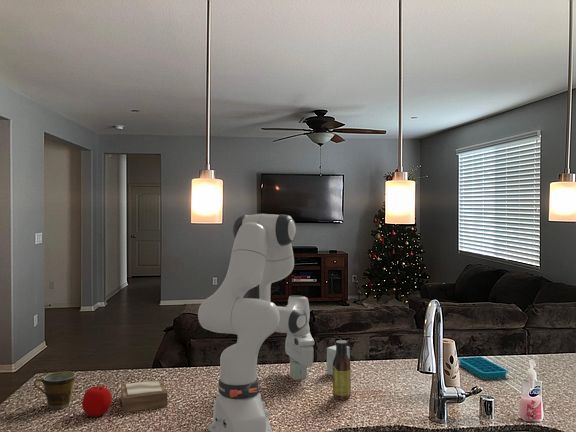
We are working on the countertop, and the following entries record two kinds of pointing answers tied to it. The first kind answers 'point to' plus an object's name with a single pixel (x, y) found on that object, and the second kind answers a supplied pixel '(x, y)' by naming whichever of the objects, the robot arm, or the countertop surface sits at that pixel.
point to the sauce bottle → (341, 372)
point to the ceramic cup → (58, 388)
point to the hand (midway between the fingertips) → (298, 371)
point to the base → (143, 395)
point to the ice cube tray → (483, 367)
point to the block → (296, 370)
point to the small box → (330, 358)
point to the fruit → (96, 401)
